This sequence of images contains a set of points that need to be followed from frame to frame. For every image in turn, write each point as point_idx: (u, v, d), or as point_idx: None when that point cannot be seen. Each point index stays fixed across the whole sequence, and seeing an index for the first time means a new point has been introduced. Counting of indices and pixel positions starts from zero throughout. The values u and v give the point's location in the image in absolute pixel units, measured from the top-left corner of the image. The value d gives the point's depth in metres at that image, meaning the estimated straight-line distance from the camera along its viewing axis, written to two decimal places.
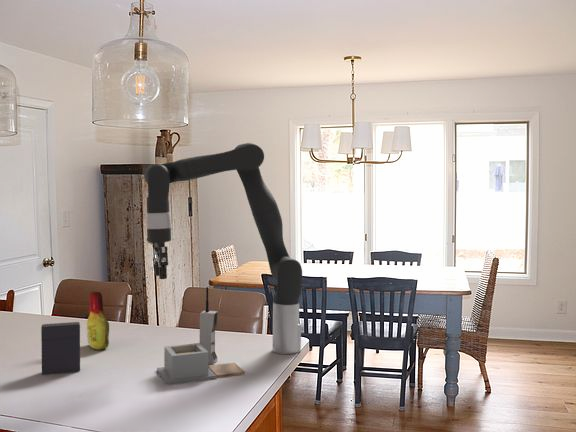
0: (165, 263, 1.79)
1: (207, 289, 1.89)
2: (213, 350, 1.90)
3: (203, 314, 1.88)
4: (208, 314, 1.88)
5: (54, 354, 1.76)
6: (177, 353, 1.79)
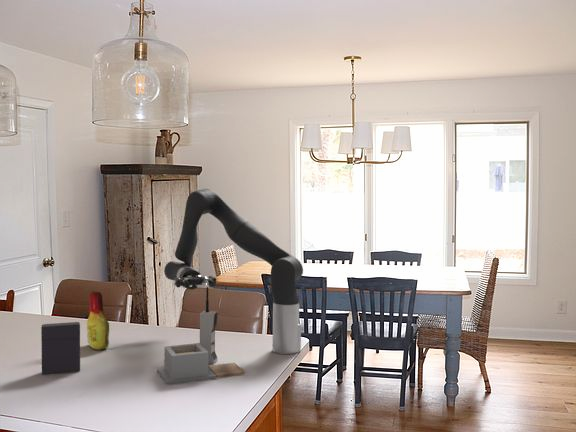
0: (177, 282, 2.00)
1: (207, 289, 1.89)
2: (213, 350, 1.90)
3: (203, 314, 1.88)
4: (208, 314, 1.88)
5: (54, 354, 1.76)
6: (177, 353, 1.79)
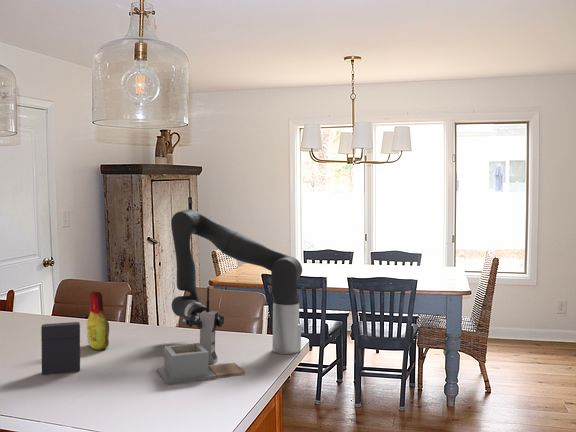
0: (188, 321, 1.90)
1: (208, 289, 1.89)
2: (213, 350, 1.90)
3: (204, 314, 1.88)
4: (209, 314, 1.87)
5: (54, 354, 1.76)
6: (177, 353, 1.79)
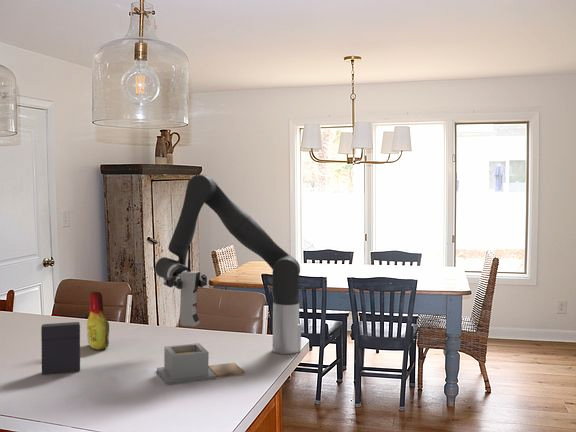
0: (169, 281, 1.79)
1: (189, 247, 1.78)
2: (195, 312, 1.80)
3: (184, 273, 1.77)
4: (190, 273, 1.77)
5: (54, 354, 1.76)
6: (177, 353, 1.79)
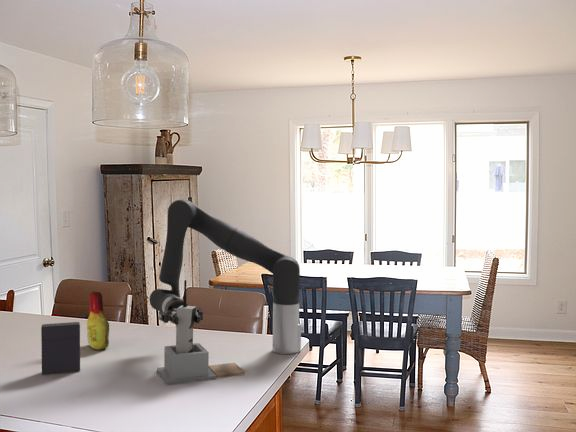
0: None
1: (185, 282, 1.75)
2: (191, 348, 1.77)
3: (180, 309, 1.74)
4: (186, 309, 1.74)
5: (54, 354, 1.76)
6: None
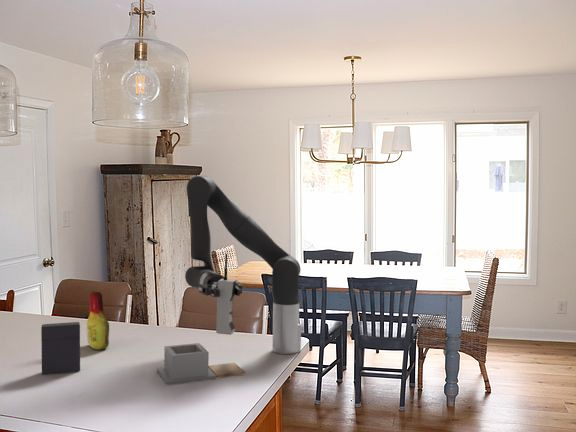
0: None
1: (226, 256, 1.79)
2: (231, 320, 1.81)
3: (221, 282, 1.78)
4: (227, 282, 1.78)
5: (54, 354, 1.76)
6: None
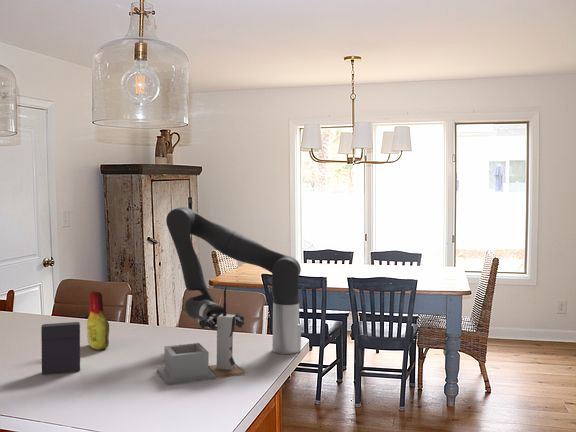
0: (201, 322, 1.81)
1: (225, 292, 1.80)
2: (231, 356, 1.82)
3: (221, 318, 1.79)
4: (226, 318, 1.79)
5: (54, 354, 1.76)
6: None
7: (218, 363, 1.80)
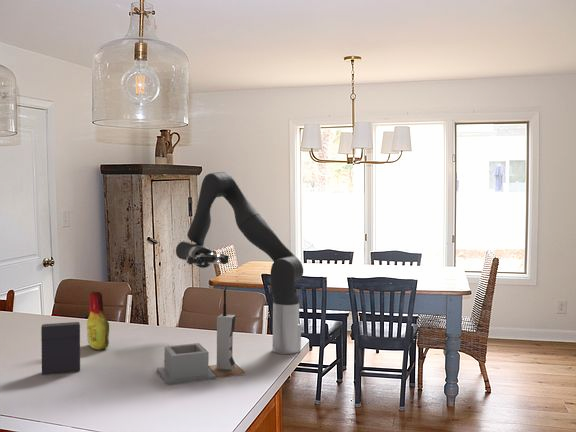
0: (189, 259, 2.00)
1: (225, 292, 1.80)
2: (231, 356, 1.82)
3: (221, 318, 1.79)
4: (226, 318, 1.79)
5: (54, 354, 1.76)
6: None
7: (218, 363, 1.80)
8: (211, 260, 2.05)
